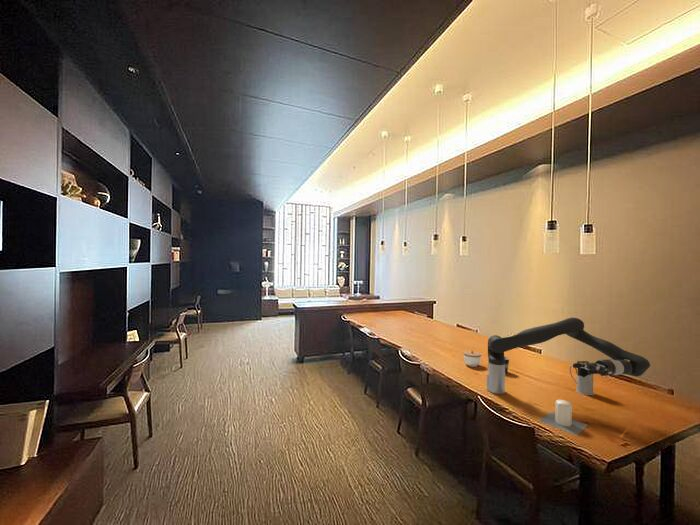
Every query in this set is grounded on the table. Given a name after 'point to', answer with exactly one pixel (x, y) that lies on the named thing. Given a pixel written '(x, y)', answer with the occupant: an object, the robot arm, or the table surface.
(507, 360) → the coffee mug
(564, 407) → the cup
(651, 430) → the table surface
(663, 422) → the table surface
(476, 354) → the lidded bowl
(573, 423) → the slate mat
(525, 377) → the table surface
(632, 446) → the table surface
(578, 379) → the glass holder
